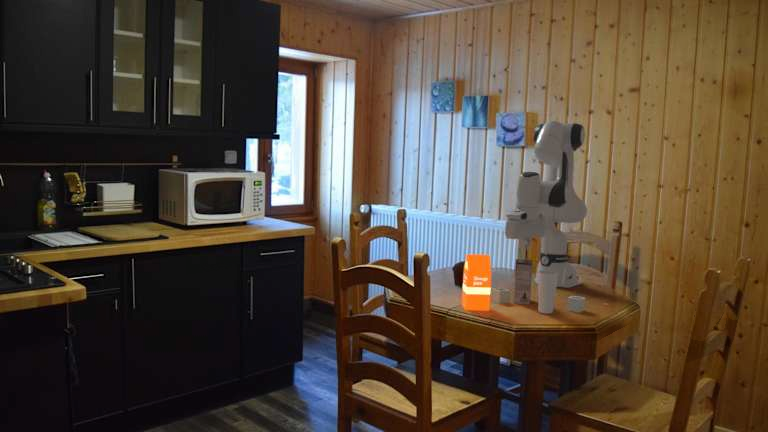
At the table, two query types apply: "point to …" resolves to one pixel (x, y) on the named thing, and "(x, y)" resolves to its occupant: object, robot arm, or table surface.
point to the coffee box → (522, 281)
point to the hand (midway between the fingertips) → (524, 249)
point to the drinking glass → (546, 291)
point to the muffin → (458, 273)
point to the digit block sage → (500, 295)
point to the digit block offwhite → (576, 304)
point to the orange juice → (476, 282)
